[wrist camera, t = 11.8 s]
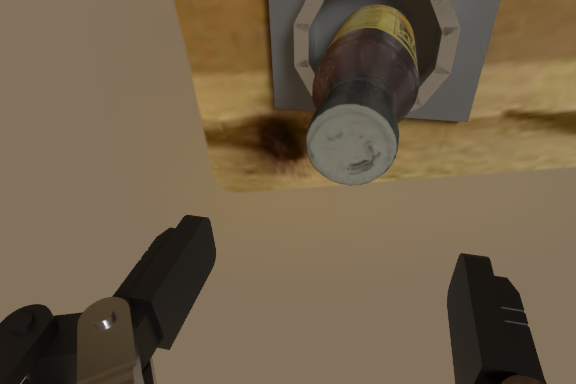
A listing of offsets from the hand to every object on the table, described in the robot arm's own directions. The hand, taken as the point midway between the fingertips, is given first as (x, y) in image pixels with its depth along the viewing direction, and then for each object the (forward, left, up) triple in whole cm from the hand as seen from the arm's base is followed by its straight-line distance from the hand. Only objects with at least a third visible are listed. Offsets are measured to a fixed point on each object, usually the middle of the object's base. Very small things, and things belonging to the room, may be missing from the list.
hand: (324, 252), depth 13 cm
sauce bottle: (0, 0, -26) cm, 26 cm away
